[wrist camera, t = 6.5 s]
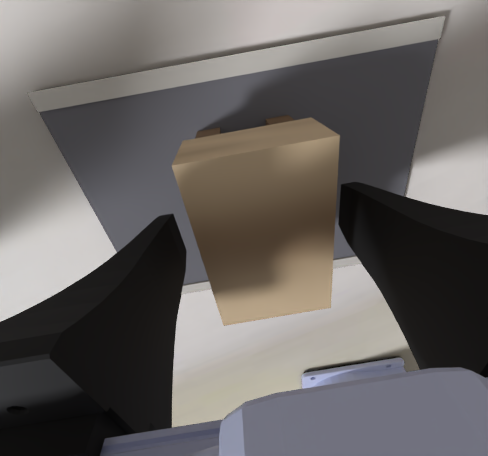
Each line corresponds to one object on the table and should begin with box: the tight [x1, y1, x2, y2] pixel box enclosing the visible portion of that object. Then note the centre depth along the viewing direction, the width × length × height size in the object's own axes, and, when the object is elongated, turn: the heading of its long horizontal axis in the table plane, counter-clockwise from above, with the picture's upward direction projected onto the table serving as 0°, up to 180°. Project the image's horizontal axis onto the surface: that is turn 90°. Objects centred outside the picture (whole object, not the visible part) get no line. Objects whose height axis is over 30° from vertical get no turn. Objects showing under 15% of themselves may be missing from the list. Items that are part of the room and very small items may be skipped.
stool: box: [172, 115, 340, 326], centre depth 11 cm, size 7×4×5 cm, turn 9°
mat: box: [27, 16, 445, 294], centre depth 13 cm, size 16×12×1 cm
